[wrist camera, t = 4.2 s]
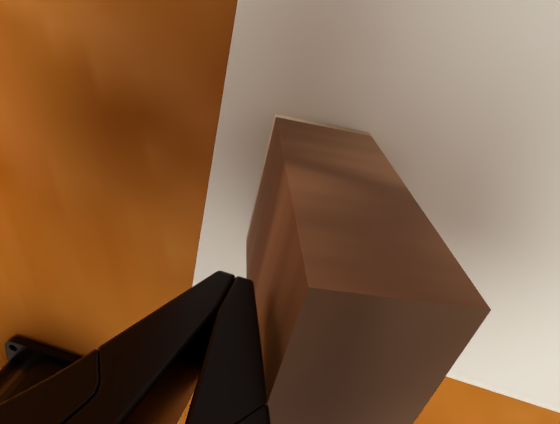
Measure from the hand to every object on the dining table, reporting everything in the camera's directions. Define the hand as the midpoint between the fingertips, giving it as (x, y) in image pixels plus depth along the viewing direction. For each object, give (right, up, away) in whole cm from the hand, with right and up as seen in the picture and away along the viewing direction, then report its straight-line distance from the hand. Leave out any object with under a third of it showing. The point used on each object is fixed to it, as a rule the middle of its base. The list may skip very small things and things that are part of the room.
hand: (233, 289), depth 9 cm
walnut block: (+2, +3, +5) cm, 6 cm away
